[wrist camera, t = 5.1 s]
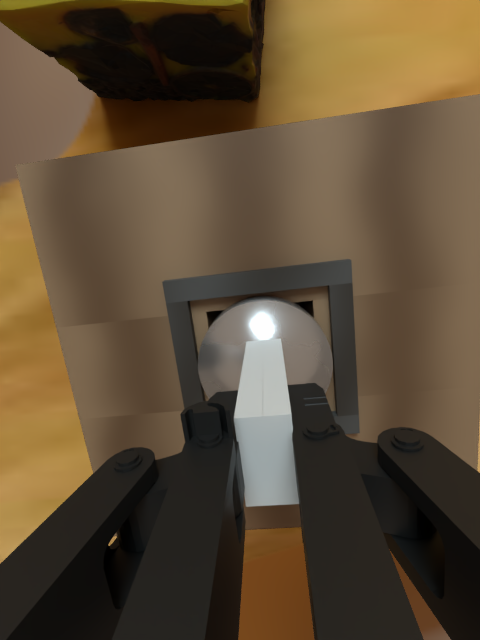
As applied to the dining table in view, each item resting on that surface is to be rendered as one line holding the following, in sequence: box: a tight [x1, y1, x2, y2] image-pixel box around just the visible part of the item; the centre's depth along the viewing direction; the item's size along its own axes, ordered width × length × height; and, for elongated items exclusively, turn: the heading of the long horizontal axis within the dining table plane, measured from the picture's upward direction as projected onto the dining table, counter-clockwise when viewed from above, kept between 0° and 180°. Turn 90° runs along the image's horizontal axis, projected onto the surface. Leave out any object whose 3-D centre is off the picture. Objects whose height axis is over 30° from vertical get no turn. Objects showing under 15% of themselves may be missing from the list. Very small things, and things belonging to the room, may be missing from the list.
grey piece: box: [198, 296, 333, 398], centre depth 20 cm, size 6×6×8 cm
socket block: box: [15, 94, 480, 536], centre depth 21 cm, size 20×20×8 cm
